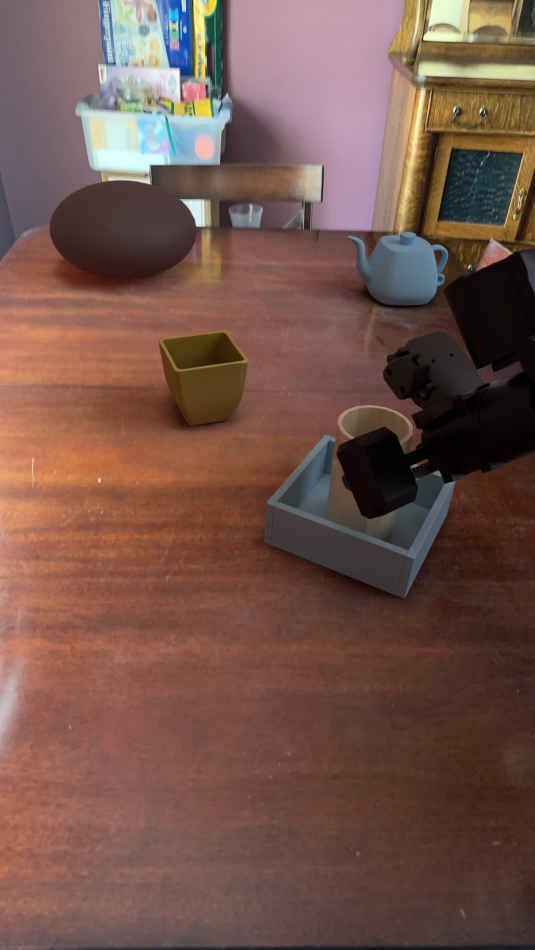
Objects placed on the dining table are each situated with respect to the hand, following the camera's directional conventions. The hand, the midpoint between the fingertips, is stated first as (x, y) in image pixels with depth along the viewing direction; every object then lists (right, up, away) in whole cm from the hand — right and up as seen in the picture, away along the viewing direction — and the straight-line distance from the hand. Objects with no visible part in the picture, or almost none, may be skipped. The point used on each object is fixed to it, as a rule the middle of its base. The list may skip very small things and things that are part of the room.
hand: (382, 466), depth 62 cm
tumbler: (-1, -6, +6) cm, 9 cm away
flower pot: (-19, +7, +23) cm, 30 cm away
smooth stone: (-36, +36, +59) cm, 78 cm away
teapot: (+11, +31, +56) cm, 64 cm away
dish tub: (-1, -6, +7) cm, 9 cm away
